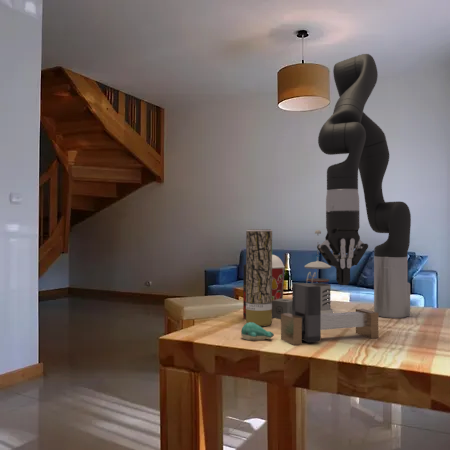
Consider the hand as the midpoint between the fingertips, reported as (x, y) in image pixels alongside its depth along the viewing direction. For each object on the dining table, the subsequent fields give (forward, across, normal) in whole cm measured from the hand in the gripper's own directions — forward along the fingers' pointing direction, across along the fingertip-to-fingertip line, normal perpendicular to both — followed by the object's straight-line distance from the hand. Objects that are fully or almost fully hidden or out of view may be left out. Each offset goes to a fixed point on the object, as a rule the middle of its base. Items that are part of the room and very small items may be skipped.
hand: (343, 284), depth 110 cm
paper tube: (+12, +12, -20) cm, 27 cm away
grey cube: (+13, +1, -27) cm, 30 cm away
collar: (+12, +10, 0) cm, 16 cm away
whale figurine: (+12, +19, -5) cm, 24 cm away
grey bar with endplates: (+12, +4, 0) cm, 13 cm away
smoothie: (+13, 0, -38) cm, 40 cm away
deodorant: (+12, +10, -28) cm, 33 cm away
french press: (+13, -13, -33) cm, 38 cm away
